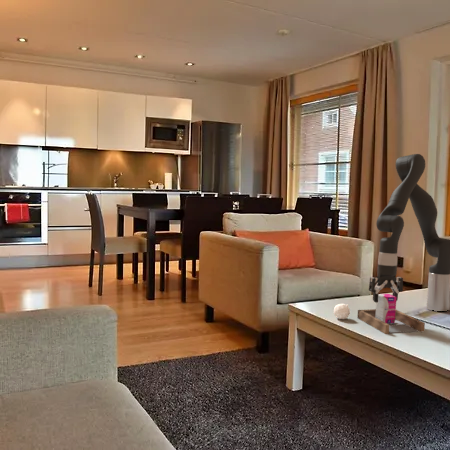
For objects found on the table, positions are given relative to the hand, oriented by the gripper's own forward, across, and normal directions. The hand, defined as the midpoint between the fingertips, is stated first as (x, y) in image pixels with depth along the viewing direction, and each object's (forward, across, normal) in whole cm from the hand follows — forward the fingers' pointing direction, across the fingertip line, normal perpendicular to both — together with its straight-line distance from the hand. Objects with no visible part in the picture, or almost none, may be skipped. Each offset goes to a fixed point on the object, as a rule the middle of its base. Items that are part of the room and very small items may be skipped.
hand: (385, 301), depth 195 cm
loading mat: (+9, -1, +9) cm, 13 cm away
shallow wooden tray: (+9, 0, +4) cm, 10 cm away
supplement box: (+9, 0, 0) cm, 9 cm away
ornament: (+9, +16, -7) cm, 19 cm away
